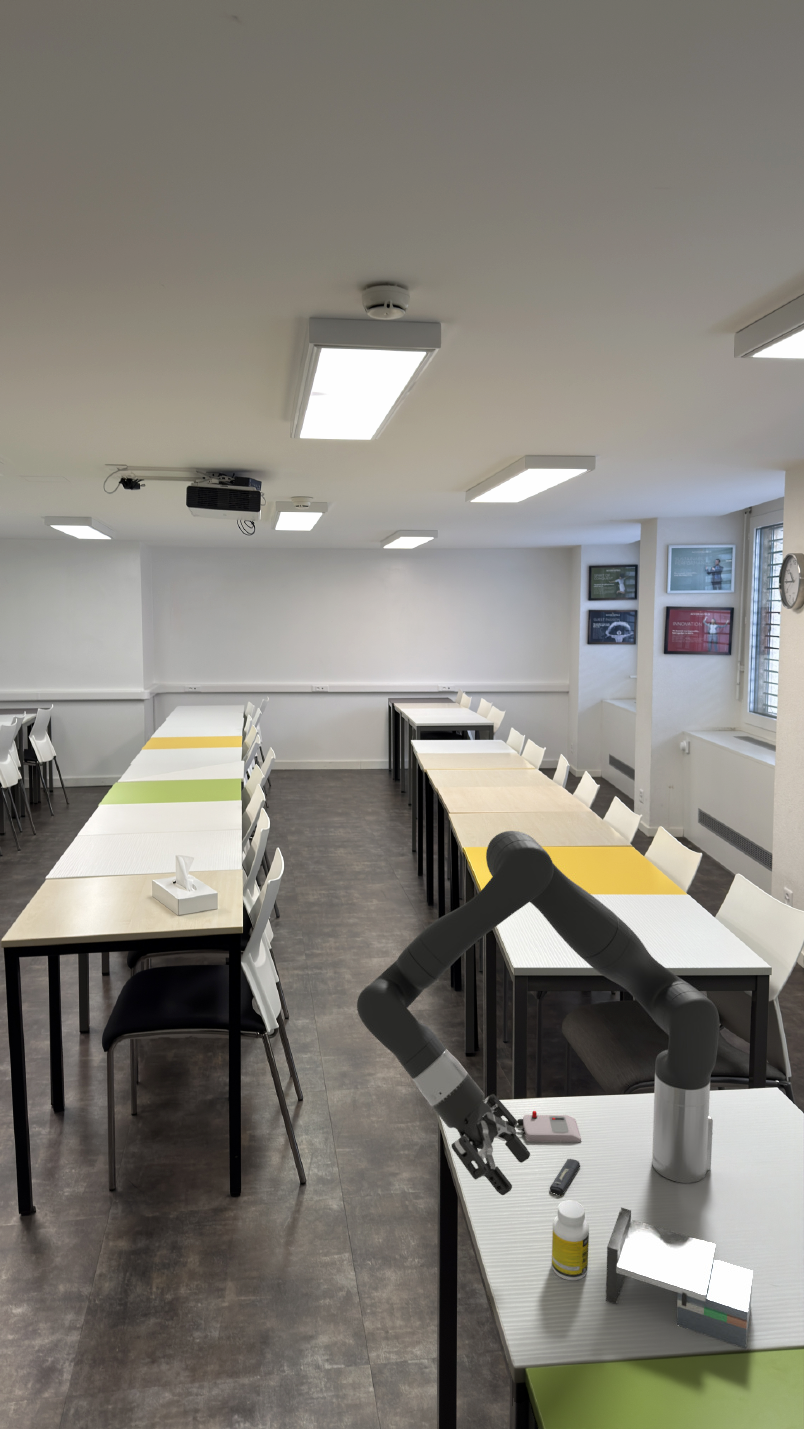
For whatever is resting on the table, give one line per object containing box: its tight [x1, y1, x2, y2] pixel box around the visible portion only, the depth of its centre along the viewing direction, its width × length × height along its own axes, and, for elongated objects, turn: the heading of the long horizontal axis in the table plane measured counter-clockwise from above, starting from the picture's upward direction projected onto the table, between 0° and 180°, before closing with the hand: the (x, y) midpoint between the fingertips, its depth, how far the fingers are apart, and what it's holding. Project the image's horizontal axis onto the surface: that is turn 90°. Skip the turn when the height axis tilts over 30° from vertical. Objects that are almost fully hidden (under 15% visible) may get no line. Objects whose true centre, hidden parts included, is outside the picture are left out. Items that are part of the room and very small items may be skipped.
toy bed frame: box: [605, 1207, 716, 1306], centre depth 128 cm, size 14×10×8 cm
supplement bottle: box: [551, 1199, 590, 1281], centre depth 134 cm, size 5×5×10 cm
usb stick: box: [549, 1158, 581, 1196], centre depth 155 cm, size 10×3×2 cm, turn 150°
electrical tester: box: [505, 1110, 582, 1143], centre depth 168 cm, size 7×16×3 cm, turn 88°
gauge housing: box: [676, 1258, 754, 1349], centre depth 125 cm, size 9×8×6 cm
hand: (517, 1174), depth 136 cm, fingers open, 8 cm apart
